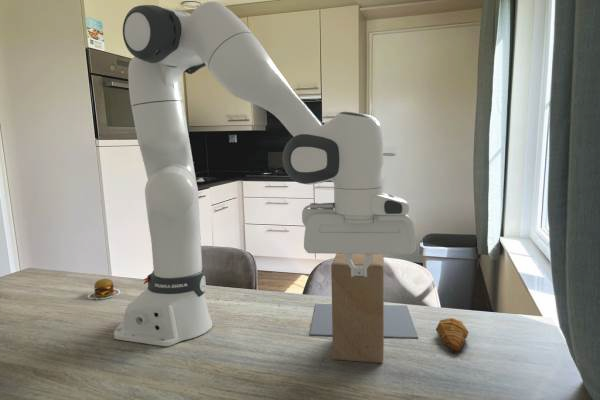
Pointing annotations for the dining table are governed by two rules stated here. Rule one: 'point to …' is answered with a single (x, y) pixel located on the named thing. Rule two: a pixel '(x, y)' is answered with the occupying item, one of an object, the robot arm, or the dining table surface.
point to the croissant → (452, 334)
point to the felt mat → (394, 321)
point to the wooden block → (358, 310)
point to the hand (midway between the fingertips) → (358, 276)
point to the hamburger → (104, 289)
